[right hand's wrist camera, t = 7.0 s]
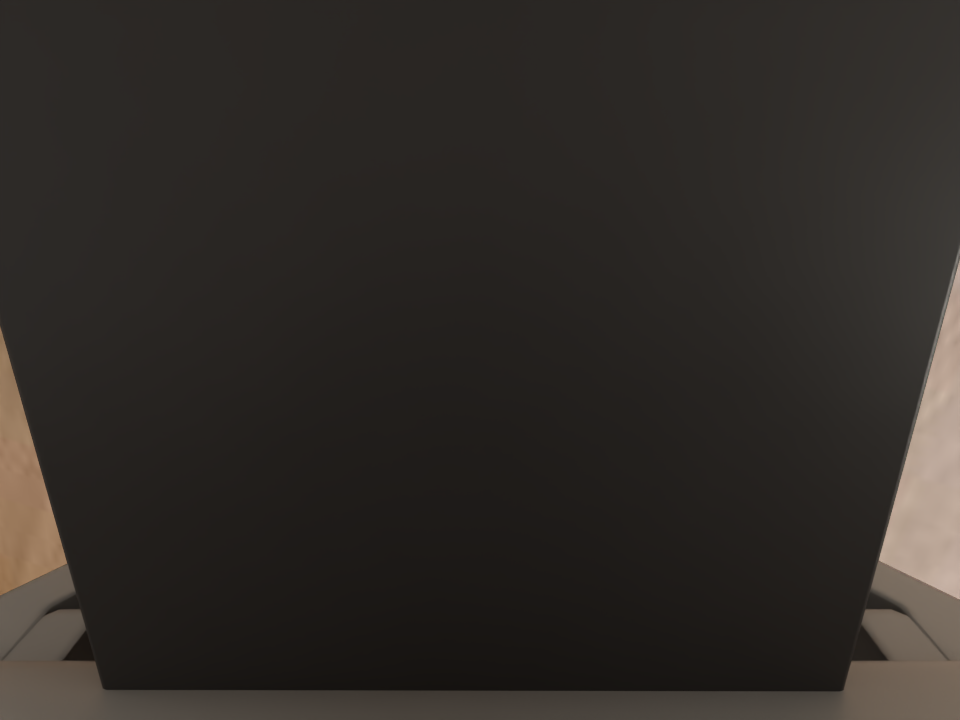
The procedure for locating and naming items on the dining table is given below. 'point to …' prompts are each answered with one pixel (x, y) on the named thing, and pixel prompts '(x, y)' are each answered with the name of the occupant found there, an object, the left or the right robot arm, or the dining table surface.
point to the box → (475, 330)
